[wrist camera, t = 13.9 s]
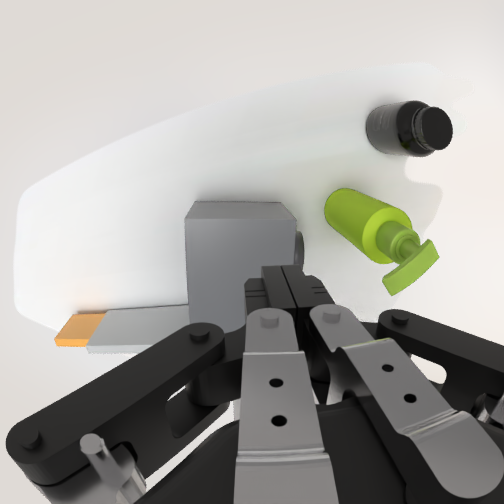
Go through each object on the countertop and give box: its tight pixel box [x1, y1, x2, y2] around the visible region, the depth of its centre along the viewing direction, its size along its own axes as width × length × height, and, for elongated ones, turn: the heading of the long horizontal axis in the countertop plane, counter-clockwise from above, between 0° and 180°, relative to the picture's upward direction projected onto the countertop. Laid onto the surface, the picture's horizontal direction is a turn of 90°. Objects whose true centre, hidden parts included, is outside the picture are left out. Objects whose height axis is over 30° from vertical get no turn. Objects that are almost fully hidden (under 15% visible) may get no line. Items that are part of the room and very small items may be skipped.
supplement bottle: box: [367, 101, 453, 157], centre depth 33 cm, size 7×7×12 cm
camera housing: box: [185, 201, 304, 333], centre depth 38 cm, size 14×13×11 cm
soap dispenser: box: [325, 188, 439, 296], centre depth 32 cm, size 6×7×20 cm
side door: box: [54, 305, 190, 353], centre depth 39 cm, size 21×1×10 cm, turn 94°
